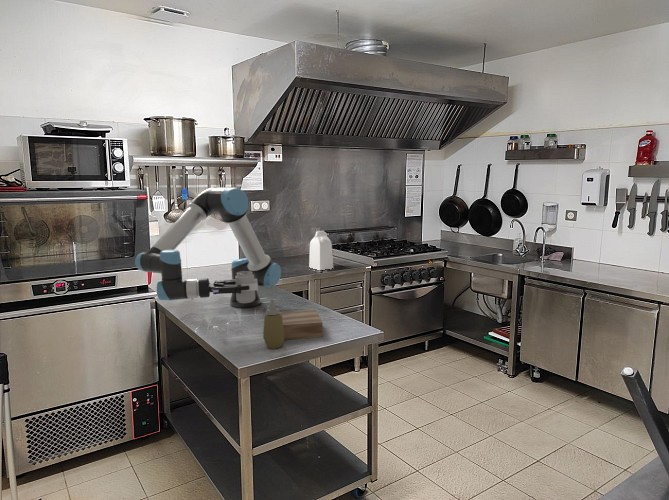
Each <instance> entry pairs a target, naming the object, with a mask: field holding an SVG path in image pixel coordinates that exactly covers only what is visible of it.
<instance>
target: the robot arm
mask: <svg viewBox="0 0 669 500" xmlns="http://www.w3.org/2000/svg"><path fill="white" fill-rule="evenodd" d="M248 203H249V199H248V196H247V194H246V193H245V192H244V190H242V189H240V188H238V187H233V186H232V187H231V186H229V187H209V188H206V189H205V190H203V191H202V192H200V193H199V194H197V195H196V196H195V197H194V198H193V199H192V200H191V201H190V202H189V203H188V204H187V206H186V210H185V211H184V212H183V213H182V214H181V215H180V216H179V217H178V218H177V219H176V220H175V221H174V223H173V224H172V225H170V227H169V228H168V229H167V230H166V231H165V233H163V235H161V237H159V238H158V239H157V240H156V241H155V243H154V244H153V245H152V246H151V247H150V248H149V249H148V250H147V251H145V252H141V253H138V254H137V255H136V257H135V260H134V264H135V267H136V268H137V269H138V270H139V271H142V272H145V273H155V274H160V275H161V281H158V282H157V284H156V297H157V299H158V300H159V301H175V300H176V301H177V300H188V299H190V300H191V301H192V300H194V299H199V298H202V299H203V298H204V299H205V298H209V297H210V295H211V293H212V294H213V295H219V294H221V295H222V294H227V295H228V294H231V295H230V299H229V305H230V307H234V308H251V307H256V306H258V305H260V304H261V302H262V301H261V297H260V294H259V292H258V291H259V287H264V288H273V287H275V286H277V284H278V283H279V282H280V279H281V275H282V269H281V265H279V263H277V262H273V260H272V258H271V257H270V255H268V254H266V253H265V251H264V249H263V247H262V245H261V243H260V241H259V239H258V237H257V235H256V233H255V231H254V229H253V226H252V224H251V223H250V221H249V219H248V217H247V214H248V207H249V204H248ZM213 215H219V216H220V218H221V220H222V222H223V223H225V224H228V226H229V227H230V229H231V231H232V233H233V234H234V235H233V236H235V239H236V241H237V242H238V244H239V246H240V248H241V251H242V252H243V255H244V256H245V257H244V258H237V259H233V261H232V262H231V279H223V280H214V282H210V280H209V278H206V277H205V278H199V279H197V278H191V279H189V278H188V279H183V271H182V269H183V268H182V258H181V252H180V250H178V249H177V248H178V246H179V245H180V244H182V243H183V241H184V240H185V239H186V238H187V237H188V236H189V234H190V233H191V232H192V231H193V230H194V229H195V227H197V226H198V224H199V223H200V222H201V221H205V220H206V219H207V218H208V217H209V216H213ZM241 271H251V272H252V274H253V275H254V283H252V284H241V285H236V282H235V276H236V275H237V272H241ZM254 290H255V300H254V301H253V302H250V303H239V302H238V301H237V298H236V293H239V294H241V291H254Z"/></svg>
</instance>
